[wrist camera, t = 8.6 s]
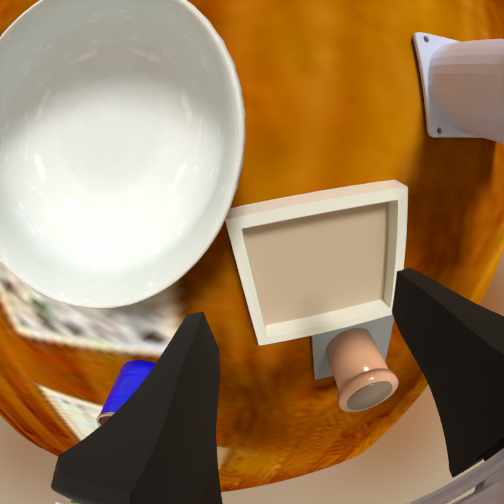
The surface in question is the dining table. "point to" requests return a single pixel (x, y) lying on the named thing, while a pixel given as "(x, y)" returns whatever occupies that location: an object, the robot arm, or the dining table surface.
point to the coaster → (376, 327)
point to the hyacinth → (124, 388)
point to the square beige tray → (320, 258)
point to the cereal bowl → (114, 146)
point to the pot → (359, 370)
